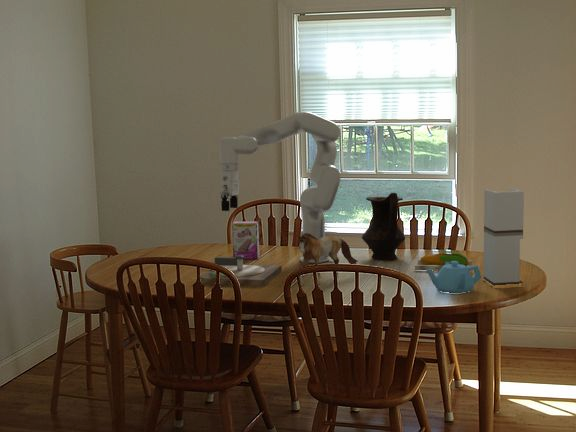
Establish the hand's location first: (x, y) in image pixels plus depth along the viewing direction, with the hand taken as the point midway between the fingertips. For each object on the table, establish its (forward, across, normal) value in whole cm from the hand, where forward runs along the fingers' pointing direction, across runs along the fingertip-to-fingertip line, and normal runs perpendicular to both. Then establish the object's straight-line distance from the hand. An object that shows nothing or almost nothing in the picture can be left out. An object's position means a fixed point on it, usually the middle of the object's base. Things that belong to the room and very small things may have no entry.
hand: (229, 209), depth 329 cm
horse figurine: (+25, -12, -45) cm, 53 cm away
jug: (+24, +31, -59) cm, 71 cm away
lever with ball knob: (+23, -11, -4) cm, 26 cm away
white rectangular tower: (+23, -6, -109) cm, 112 cm away
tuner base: (+26, -11, -8) cm, 29 cm away
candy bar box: (+26, +25, +2) cm, 36 cm away
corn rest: (+23, +17, -86) cm, 90 cm away
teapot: (+24, -18, -92) cm, 97 cm away
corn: (+24, +16, -86) cm, 90 cm away
